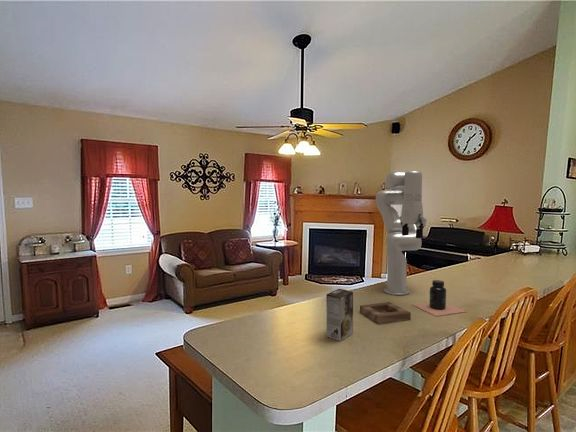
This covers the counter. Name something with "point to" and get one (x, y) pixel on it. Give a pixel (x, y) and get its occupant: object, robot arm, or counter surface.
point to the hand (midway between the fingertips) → (412, 236)
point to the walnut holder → (393, 316)
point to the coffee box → (339, 314)
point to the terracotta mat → (437, 312)
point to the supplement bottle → (438, 295)
